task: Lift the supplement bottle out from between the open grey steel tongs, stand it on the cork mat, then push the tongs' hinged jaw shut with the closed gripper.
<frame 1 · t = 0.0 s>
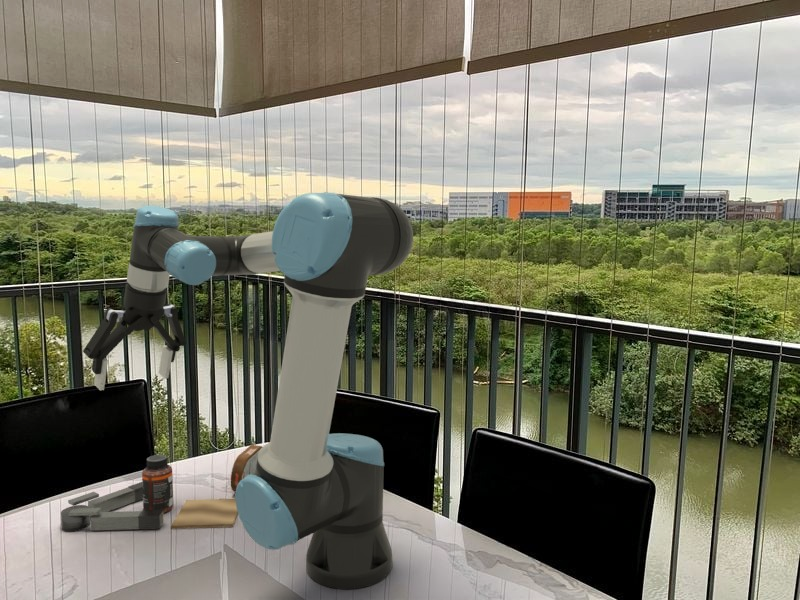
hand: (132, 381, 124), 28 cm above the table, tool tilted 20°, fingers open, 13 cm apart
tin: (249, 485, 141), on the table
supplement bottle: (158, 510, 128), on the table
tongs base: (75, 525, 120), on the table
cork mat: (208, 514, 126), on the table
tong jaw: (111, 497, 128), point 2 cm above the table, hinge at 50.0°
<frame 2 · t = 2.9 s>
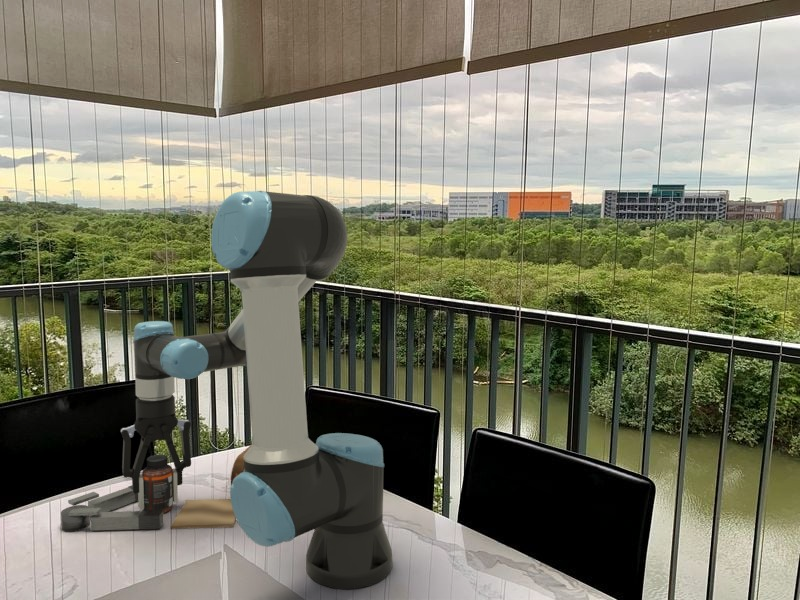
hand: (158, 503, 128), 1 cm above the table, tool pointing down, fingers closed on supplement bottle, 6 cm apart
supplement bottle: (158, 510, 128), on the table, touching gripper
everything else where it was.
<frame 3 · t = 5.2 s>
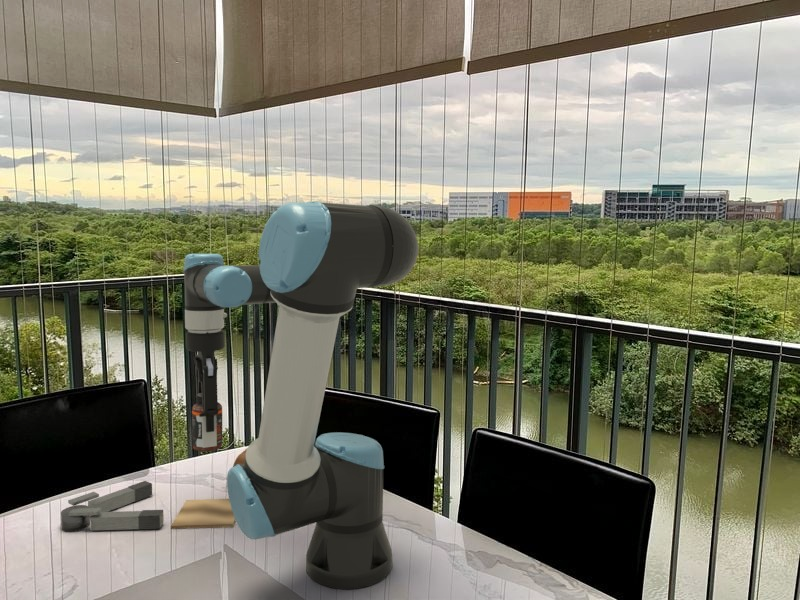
hand: (207, 441, 124), 16 cm above the table, tool pointing down, fingers closed on supplement bottle, 6 cm apart
supplement bottle: (207, 448, 124), point 14 cm above the table, touching gripper
everything else where it was.
when the fingers open (3 cm above the table, at t = 7.6 s): supplement bottle drops 1 cm, resting on cork mat.
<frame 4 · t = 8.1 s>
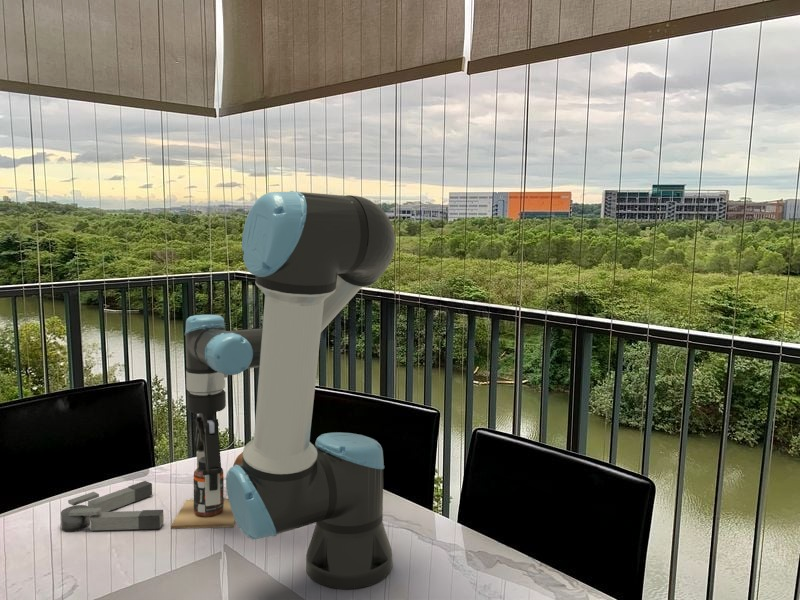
hand: (208, 491, 125), 5 cm above the table, tool pointing down, fingers open, 12 cm apart
supplement bottle: (209, 512, 126), resting on cork mat
everything else where it was.
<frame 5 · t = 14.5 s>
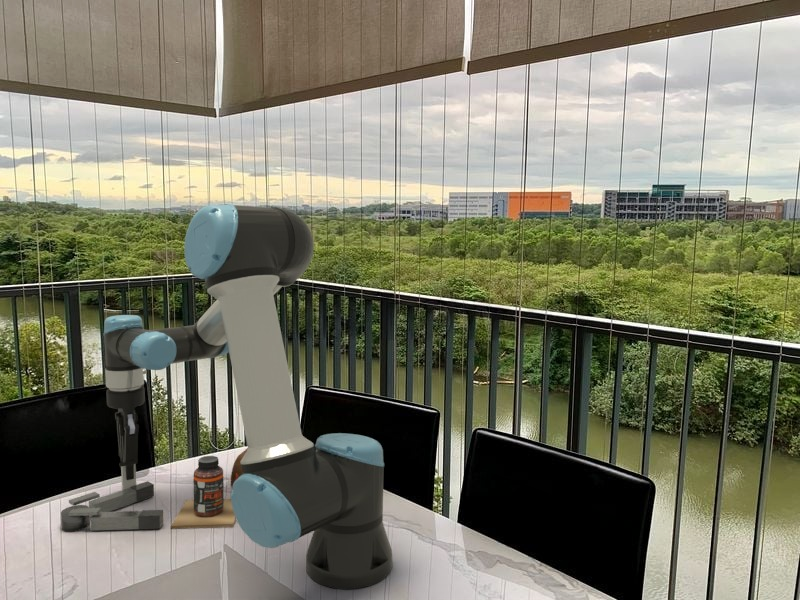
hand: (129, 491, 133), 2 cm above the table, tool pointing down, fingers closed
tong jaw: (113, 497, 127), point 2 cm above the table, hinge at 47.6°, touching gripper
everything else where it was.
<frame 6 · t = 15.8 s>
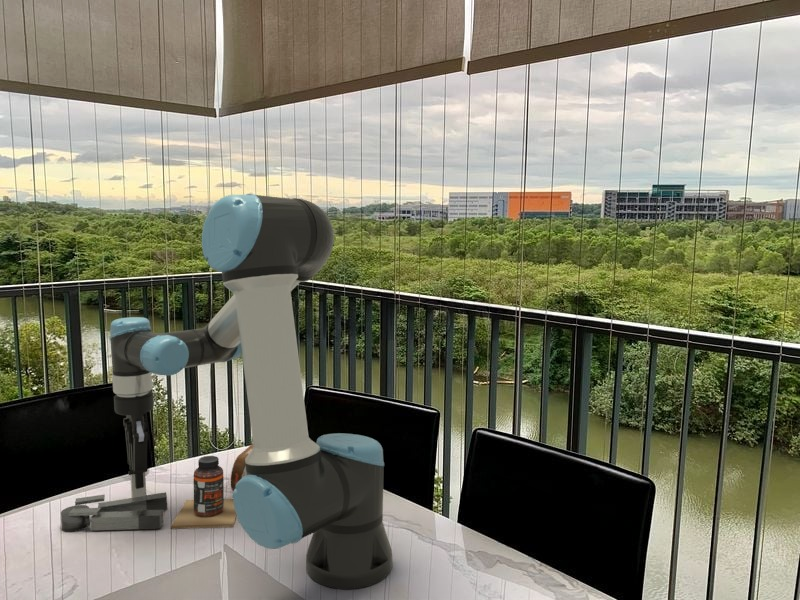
hand: (139, 500, 128), 2 cm above the table, tool pointing down, fingers closed
tong jaw: (122, 503, 125), point 2 cm above the table, hinge at 18.8°, touching gripper
everything else where it was.
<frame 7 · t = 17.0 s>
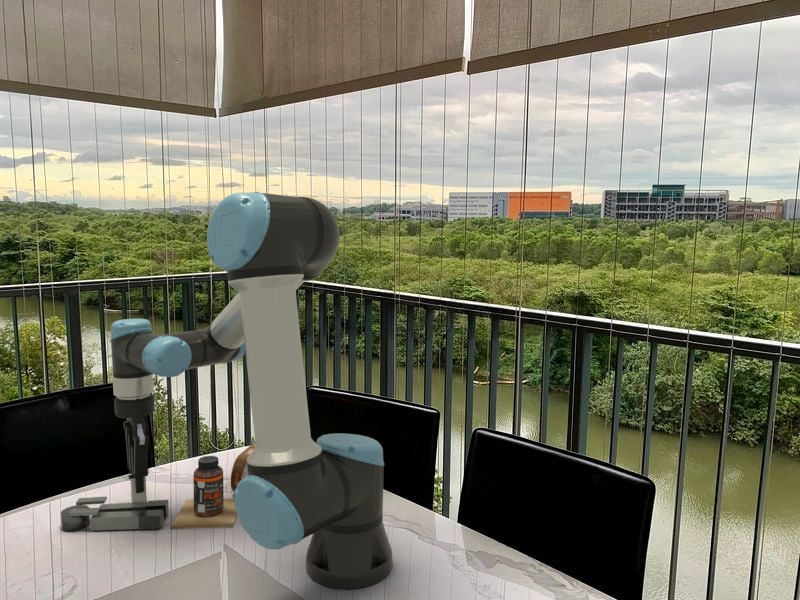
hand: (139, 505, 126), 2 cm above the table, tool pointing down, fingers closed
tong jaw: (123, 507, 123), point 2 cm above the table, hinge at 5.2°, touching gripper
everything else where it was.
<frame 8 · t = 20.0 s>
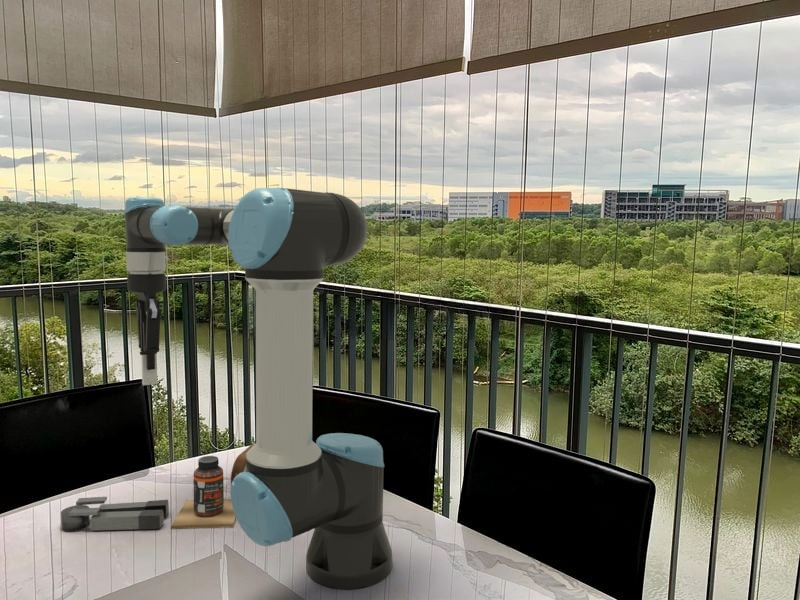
hand: (149, 383, 128), 26 cm above the table, tool pointing down, fingers closed
tong jaw: (123, 507, 123), point 2 cm above the table, hinge at 5.1°
everything else where it was.
at the end: supplement bottle inside the target area (0.1 cm from its centre), resting on cork mat; supplement bottle tilted 0°; tong jaw at +5° (first picture: +50°) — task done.
